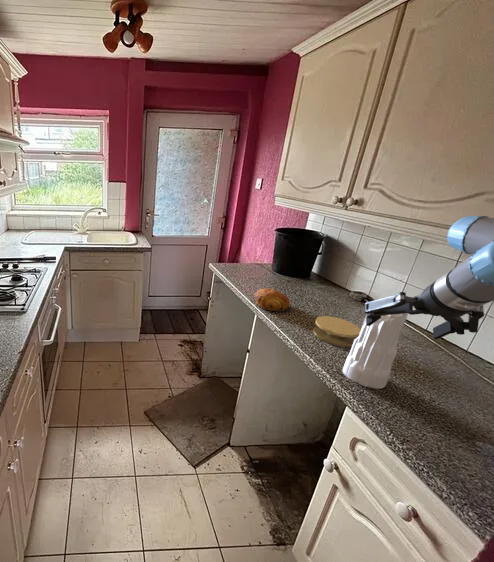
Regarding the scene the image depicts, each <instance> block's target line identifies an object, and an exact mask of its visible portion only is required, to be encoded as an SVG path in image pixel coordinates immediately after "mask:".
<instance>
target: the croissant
mask: <svg viewBox="0 0 494 562" xmlns="http://www.w3.org/2000/svg"><path fill="white" fill-rule="evenodd" d="M254 300H255V302H256V304H257V305H258V306H259V307H260V308H262V309H264V310H266V311H271V312H272V311H275V312H276V311H279V312H282V311H286V310H287V309H288V308H289V307H290V305H291V302H290V299H289V298H288V296H286V295H285V294H284V293H283V292H281V291H278V290H276V289H275V288H267V287H265V288H260V289H258V290H257V291H256V292H255V293H254Z"/></svg>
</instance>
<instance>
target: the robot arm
mask: <svg viewBox="0 0 494 562" xmlns="http://www.w3.org/2000/svg"><path fill="white" fill-rule="evenodd" d="M446 240H447V243H448V245H449V246H450V247H451V248H453V249H455V250H457V251H461V252H463V253H464V254H465V255H471V256H469V257H468V258H466V259H465V260H464V261H462V262H461V263H459V264H458V265H457V266H456V267H454V268H452V269H451V270H449V271H448V272H446V273H445V274H443V275H442V276H441V277H439V278H437V280H435V281H433V282H432V283H430V284H429V285H428V286H427V287H425V288H424V289H423V290H422V292H421V293H420V294H418V295H414V296H413V297H412V296H408V295H407V293H406V292H405V291H399V292H397V293H395V294H394V295H390V296H386V297H385V298H383V297H381V298H382V299H381V298H378V299H374V300H371V301H368V302H365V303H364V314H366V315H367V316H366V315H365V317H366V326H370V325H372V324H373V323H374V322H376V321H377V320H379V319H380V318H381V316H383V315H393V314H403V313H408V315H410V316H414V315H429V316H434V317H441V318H442V319H444V320H445V321H444V322H442V323H440V324H438V325H436V326H434V327H432V339H434V340H440V339H441V338H443V337H446V336H449V335H450V334H451V335H452V334H455V333H456V334H457V335H460V336H461V335H465V331H468V332H469V333H473V334H475V333H478V329H479V323H480V319H482V318H484V317H485V310H484V306H485V305H487V304H489V303H490V302H493V301H494V217H490V216H487V215H468V216H464V217H461V218H460V219H458V220H456V221H455V222H454V223H453V224H452V225H451V226H450V228H449V229H448V231H447V235H446ZM465 315H468V320H467V321H465V320H464V319H463V318H462V317H463V316H465Z"/></svg>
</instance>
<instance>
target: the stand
mask: <svg viewBox="0 0 494 562" xmlns="http://www.w3.org/2000/svg"><path fill="white" fill-rule="evenodd" d="M315 325H316V326H314V327H313V328H312V334H313V335H314V336H315V338H317V339H318V340H320V341H322V342H325V343H327V344H329V345H333V346H336V347H341V348H352V345H353V342H354V340H355V339H357V338H358V336H359V333H360V331H361V328H360V327H359V326H358V325H357V324H355V323H353V322H351V321H348V320H347V319H343V318H340V317H336V316H329V315H323V316H322V315H321V316H318V317H316V319H315Z"/></svg>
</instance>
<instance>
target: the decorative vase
mask: <svg viewBox="0 0 494 562" xmlns="http://www.w3.org/2000/svg"><path fill="white" fill-rule="evenodd" d="M382 298H386V297H385V296H384V297H381V298H380V299H382ZM408 315H409V314H408V313H403V314H393V315H383V316H381V318H380V319H379V320H377V321H376V322H374V323H373V324H372V325H370V326H366V316H367V314H366V315H365V316H364V320H363V322H362V325H361V328H360V330H361V331H360V333H359V336H358V337H356V338H357V339H355V340H354V342H353V345H352V347H350V350H349V353H348V355H347V357H346V359H345V362H344V364H343V367H342V374H343V375H344V376H345V377H346V378H347V379H349V380H350V381H352V382H354V383H355V384H358V385H360V386H363V387H366V388H370V389H377V390H379V389H381V390H382V389H384V388H385V387H386V386H387V384H388V382H389V379H390V377H391V374H392V366H393V364H394V362H395V359H396V357H397V354H398V343H397V342H398V340H399V337H400V335H401V333H402V330H403V328H404V325H405V323H406V320H407V319H408Z"/></svg>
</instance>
